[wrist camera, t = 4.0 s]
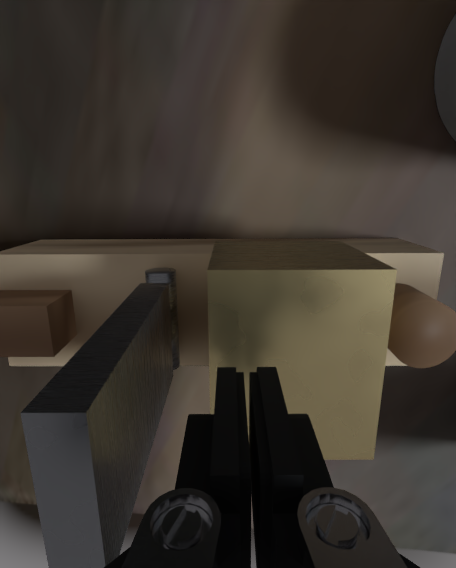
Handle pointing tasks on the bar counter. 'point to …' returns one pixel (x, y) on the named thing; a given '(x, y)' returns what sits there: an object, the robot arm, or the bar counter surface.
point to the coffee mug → (447, 79)
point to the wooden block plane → (185, 296)
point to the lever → (102, 426)
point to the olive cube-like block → (306, 331)
